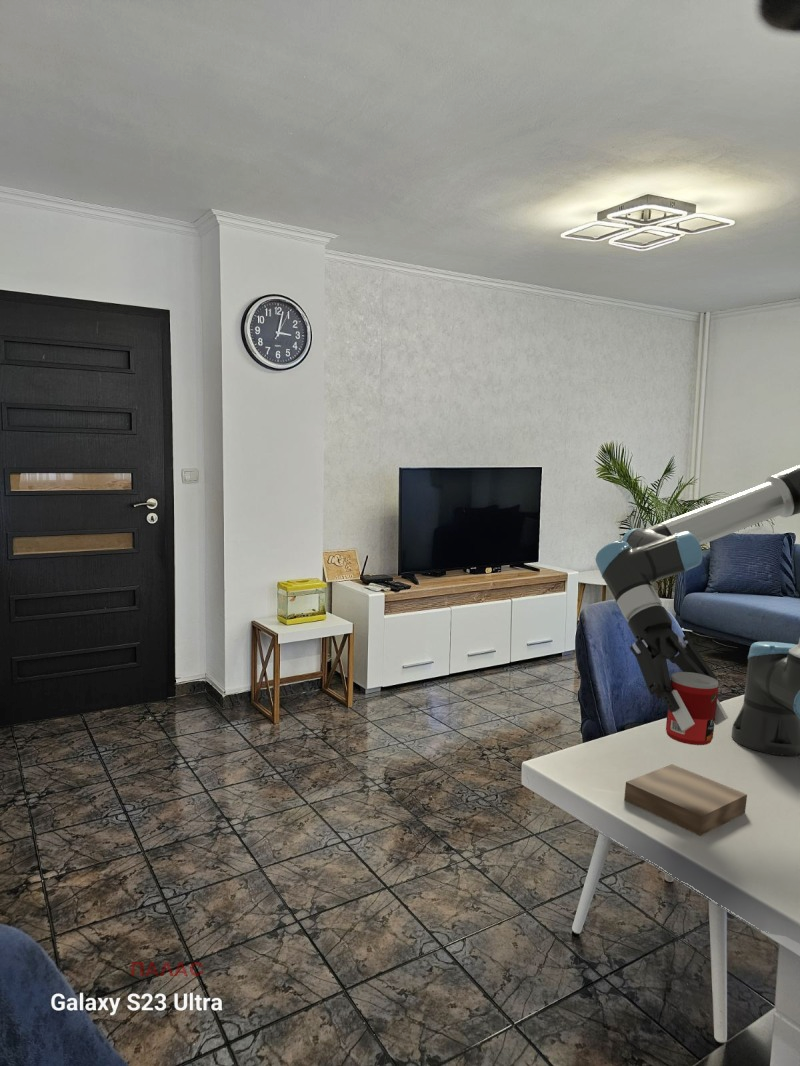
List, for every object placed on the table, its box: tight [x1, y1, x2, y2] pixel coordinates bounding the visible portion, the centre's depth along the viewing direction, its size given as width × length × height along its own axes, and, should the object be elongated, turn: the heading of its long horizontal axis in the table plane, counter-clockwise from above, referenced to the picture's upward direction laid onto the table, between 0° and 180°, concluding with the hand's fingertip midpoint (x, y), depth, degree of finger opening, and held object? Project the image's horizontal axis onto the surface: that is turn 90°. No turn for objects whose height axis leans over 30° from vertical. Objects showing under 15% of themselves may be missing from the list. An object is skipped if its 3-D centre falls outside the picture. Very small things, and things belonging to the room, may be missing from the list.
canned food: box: [665, 671, 719, 746], centre depth 134 cm, size 8×8×11 cm
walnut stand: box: [623, 764, 748, 837], centre depth 136 cm, size 15×15×4 cm
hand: (705, 724), depth 132 cm, fingers closed on canned food, 8 cm apart
